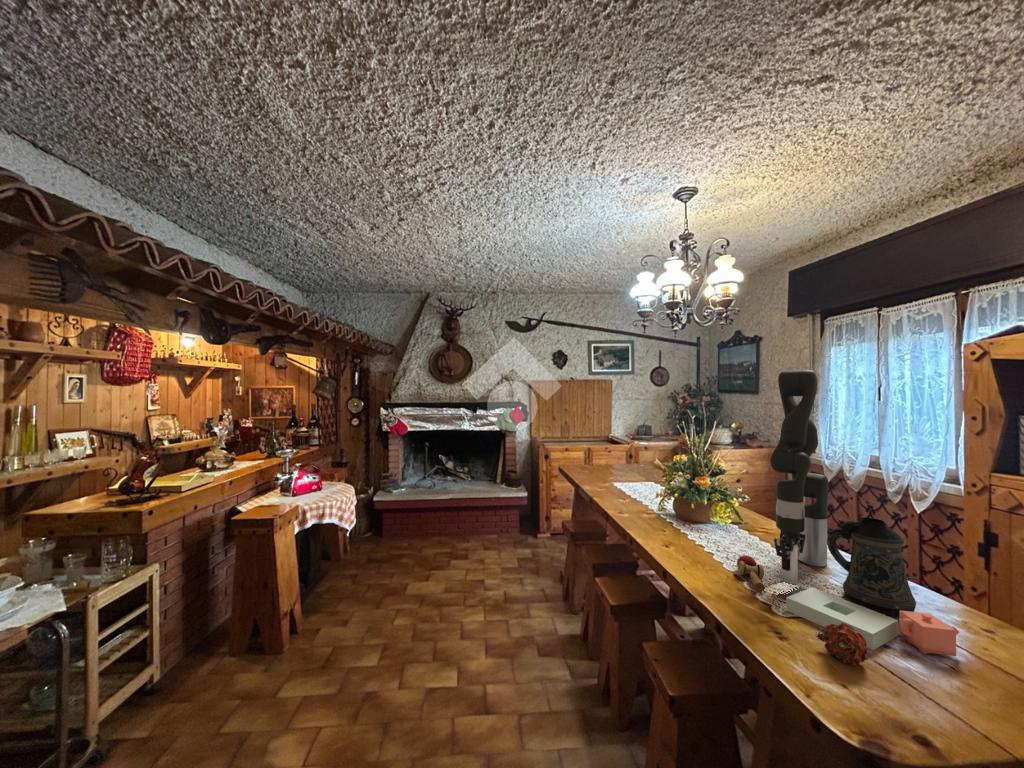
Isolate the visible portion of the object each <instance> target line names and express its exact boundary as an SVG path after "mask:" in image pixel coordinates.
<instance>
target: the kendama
mask: <svg viewBox="0 0 1024 768" xmlns="http://www.w3.org/2000/svg"><path fill="white" fill-rule="evenodd" d="M736 564H737V573H738V575H740V576H744V575H749V577H750V579H751V582H752V585H753V588H754V590H755V591H757V592H759V593H761V592H765V591H764V589H765V587H766V586H765V584H764V583H763V582H762V580H763V579H764V575H765V570H764V569H765V568H764V566H763V564H757V562H756V560H755V559H754V558H753V557H752V556H751V555H750V556H749V555H744V554H743V555H741V556H739V557H738V559H737V561H736Z"/></svg>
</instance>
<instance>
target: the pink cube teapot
mask: <svg viewBox="0 0 1024 768" xmlns="http://www.w3.org/2000/svg"><path fill="white" fill-rule="evenodd" d="M898 619H899V620H898V626H899V635H901V636H902V637H903V638H904V639H906V642H907V644H910V645H913V646H915V647H916V648H917V649H918V652H919V653H921V654H924V655H929V654H935V655H939V656H942V657H945V658H947V657H949V656H951V657H957V635H958V634H959V633H960V631H959V630H958V629H957V628H956V627H955V626H950V625H948V624H946V622H943V620H941V619H939V618H937V617H936V616H934V615H933V614H932V613H928V612H917V611H914V612H910V611H901V610H900V618H898Z"/></svg>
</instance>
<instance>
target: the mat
mask: <svg viewBox="0 0 1024 768" xmlns="http://www.w3.org/2000/svg"><path fill="white" fill-rule="evenodd" d="M799 586H800V585H799ZM801 587H802V586H800V587H799V589H798V588H797V587H795V588H796V589H797V590H795V589H794V588H793V591H792V590H791V589H790V590H791V592H790V591H788V592H790V593H788V592H786V593H788V594H786V593H784V594H785V595H784V594H780V593H779V594H778V595H776V596H775V597H777V598H780V599H782V600H784V601H786V597H788V596H791V595H794V594H796V593H799V592H800V591H804V590H807V589H808V588H805V587H804V588H805V589H802V588H801ZM783 592H784V591H783ZM781 593H782V592H781Z"/></svg>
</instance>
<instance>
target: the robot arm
mask: <svg viewBox="0 0 1024 768" xmlns="http://www.w3.org/2000/svg"><path fill="white" fill-rule="evenodd" d="M817 376H818V375H817V374H816V372H815V371H814V370H811V369H800V370H784V371H781V372H780V373H779V374H778V379H777V380H778V383H777V384H778V389H779V394H780V395H779V396H780V399H781V404H782V408H783V412H784V413H783V414H784V419H783V420H782V423H781V428H780V435H779V440H778V443H777V445H776V446H775V449H774V450H773V452H772V454H771V455H770V459H769V460H770V461H769V464H770V466H771V469H772V470H774V471H775V472H777V473H783V474H789V475H791V479H783V480H781V479H780V480H778V482H777V483H776V492H777V493H776V503H775V526H776V528H777V529H779V530H780V533H779V537H778V538H776V537H775V538H774V539H773V541H774V546H775V552H776V556H777V557H781V570H782V569H784V570H786V571H790V556H791V552H793V548H794V545H795V544H797V545H798V560H800V561H802V562H804V563H803V564H805V563H806V564H805V565H808V564H809V566H811V567H812V566H814V567H820V568H822V567H826V566H828V545H827V537H828V502H829V501H828V500H829V499H828V498H829V479H828V476H826V475H825V474H821V473H814V472H809V471H810V469H811V466H812V460H811V458H810V457H811V456H812V455H813V453H814V452H815V451H816V450H817V448H818V446H819V438H818V429H817V426H816V425H815V423H814V422H813V421H812V420H811V419H810V417H811V414H812V411H813V410H812V409H813V407H814V403H815V400H816V395H817V392H818V383H819V381H818V377H817ZM794 397H801V399H800V401H799V402H798V404H797V403H796V400H795V398H794ZM804 497H806V498H808V499H809V498H811V499H815V501H814V502H813V503H809V504H804V500H805V499H804ZM785 546H786V547H790V548H789V549H788V548H785ZM786 551H787V553H786ZM800 561H799V562H800ZM802 562H801V563H802Z"/></svg>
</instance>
